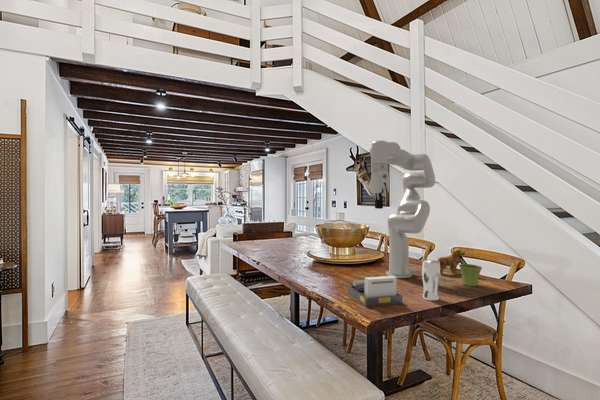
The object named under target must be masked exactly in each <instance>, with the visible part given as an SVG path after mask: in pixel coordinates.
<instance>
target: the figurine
mask: <svg viewBox="0 0 600 400" xmlns="http://www.w3.org/2000/svg"><path fill="white" fill-rule="evenodd" d="M465 254H466V252H465V251H462V249H460V248H454V249H453V251H452V253H451V254H450V255H447V256H440V257H439V258H437V259H436V261H439V262H440V276H444V275H445V273H443V272H444V270H445V269H446V268H447V267H449V270H450V271H451V273H452V274H454V275H460V272H458V271H457V267H458V266H459V265H460V263H461V259H462V258H461V256H464V255H465Z"/></svg>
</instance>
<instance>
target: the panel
mask: <svg viewBox="0 0 600 400" xmlns="http://www.w3.org/2000/svg"><path fill="white" fill-rule="evenodd" d="M397 279H398V278H396V277H394V276H387V275H383V276H382V275H381V276H368V277H364V280H365V290H364V296H365V297H366V298H372V297H383V296H395V295H396V292H397Z"/></svg>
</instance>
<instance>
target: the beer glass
mask: <svg viewBox="0 0 600 400" xmlns="http://www.w3.org/2000/svg"><path fill="white" fill-rule="evenodd" d="M421 279H422V284H423V285H422V286H423V292H422V297H421V298H422V299H424V300H426V301H430V302H431V301H432V302H436V301H439V299H440V298H439V284H440V279H441V275H440V262H439V261H437V259H424V260H422V261H421Z"/></svg>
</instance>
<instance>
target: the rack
mask: <svg viewBox="0 0 600 400" xmlns="http://www.w3.org/2000/svg"><path fill="white" fill-rule="evenodd" d="M364 290H365V279H359V280H352V285H348V286H347V293H348V294H349V296H351V297H353V298H354V299H355V300H357V301H358V303H361V304H362V305H363V306H364V307H366V308H367V307H377V306H378V307H379V306H389V305H398V304H399V305H401V304H403V295H402V294H400V293H398V292H397V291H396V295H395V296H383V297H372V298H366V297H365V296H364Z"/></svg>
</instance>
